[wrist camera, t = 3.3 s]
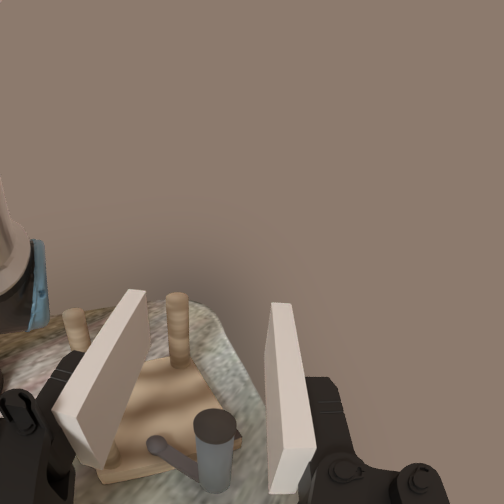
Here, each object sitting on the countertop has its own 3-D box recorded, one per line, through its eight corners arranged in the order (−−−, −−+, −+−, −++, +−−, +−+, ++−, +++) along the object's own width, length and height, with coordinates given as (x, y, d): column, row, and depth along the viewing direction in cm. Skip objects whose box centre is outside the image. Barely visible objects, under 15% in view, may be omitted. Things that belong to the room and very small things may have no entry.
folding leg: (140, 450, 29) (120, 382, 25) (159, 434, 32) (146, 364, 28) (219, 502, 24) (220, 447, 20) (237, 481, 27) (244, 420, 23)
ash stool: (80, 384, 40) (58, 307, 35) (188, 363, 49) (186, 288, 44) (103, 484, 26) (63, 414, 21) (240, 447, 34) (249, 372, 29)
